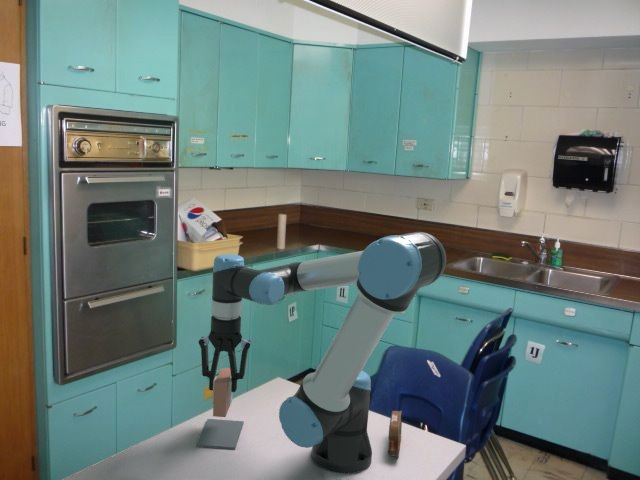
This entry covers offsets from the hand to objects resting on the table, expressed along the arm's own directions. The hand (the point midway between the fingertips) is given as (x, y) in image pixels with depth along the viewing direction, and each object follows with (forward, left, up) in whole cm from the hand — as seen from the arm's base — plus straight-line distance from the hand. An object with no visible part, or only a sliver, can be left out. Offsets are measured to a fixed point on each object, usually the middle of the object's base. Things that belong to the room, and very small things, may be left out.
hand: (222, 402), depth 149 cm
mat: (0, -1, -10) cm, 10 cm away
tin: (-46, -1, -10) cm, 47 cm away
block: (0, -6, +2) cm, 7 cm away
